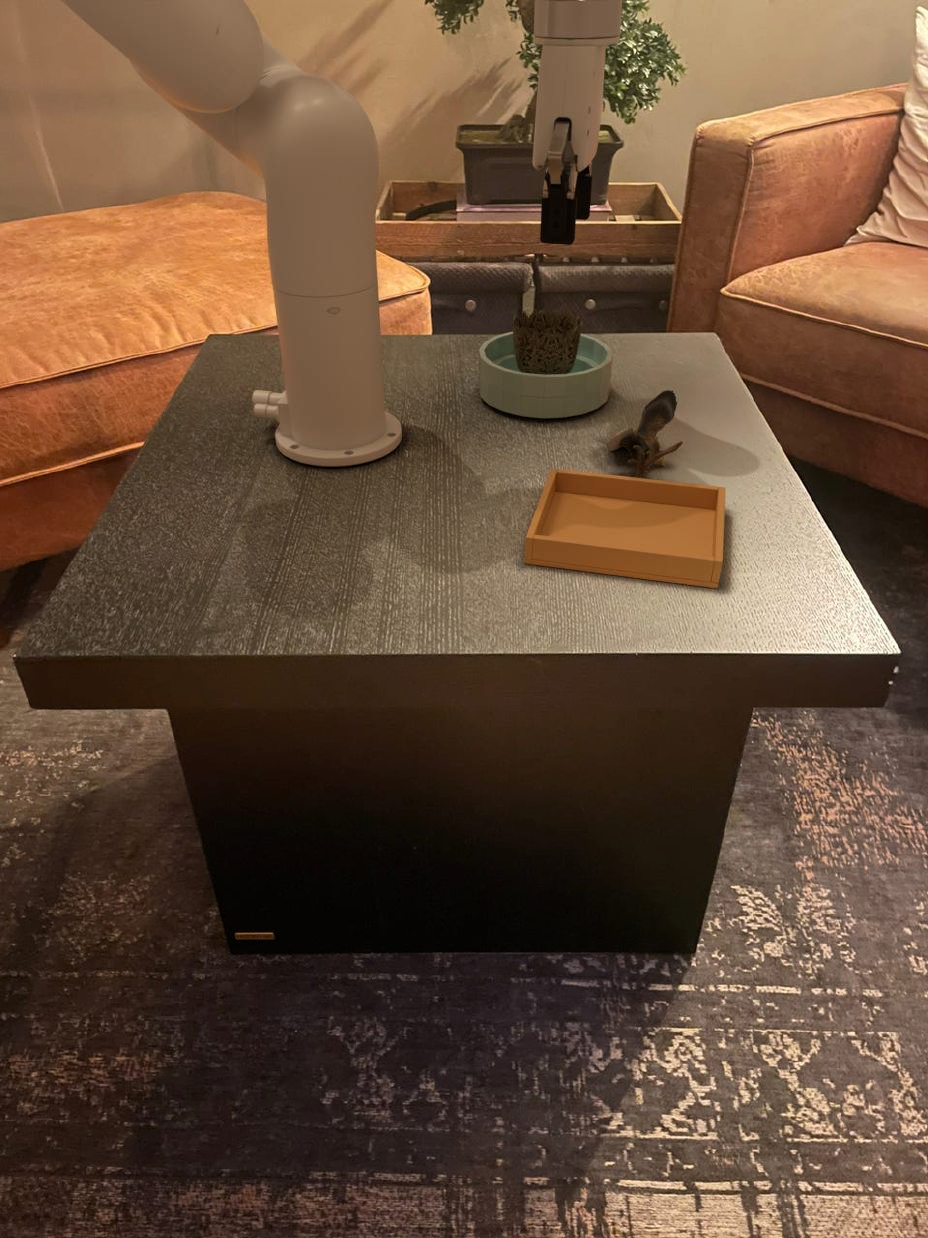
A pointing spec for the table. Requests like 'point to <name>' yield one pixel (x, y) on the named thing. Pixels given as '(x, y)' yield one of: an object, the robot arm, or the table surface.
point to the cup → (546, 342)
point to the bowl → (544, 381)
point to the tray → (629, 527)
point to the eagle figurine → (648, 434)
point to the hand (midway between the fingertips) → (565, 230)
